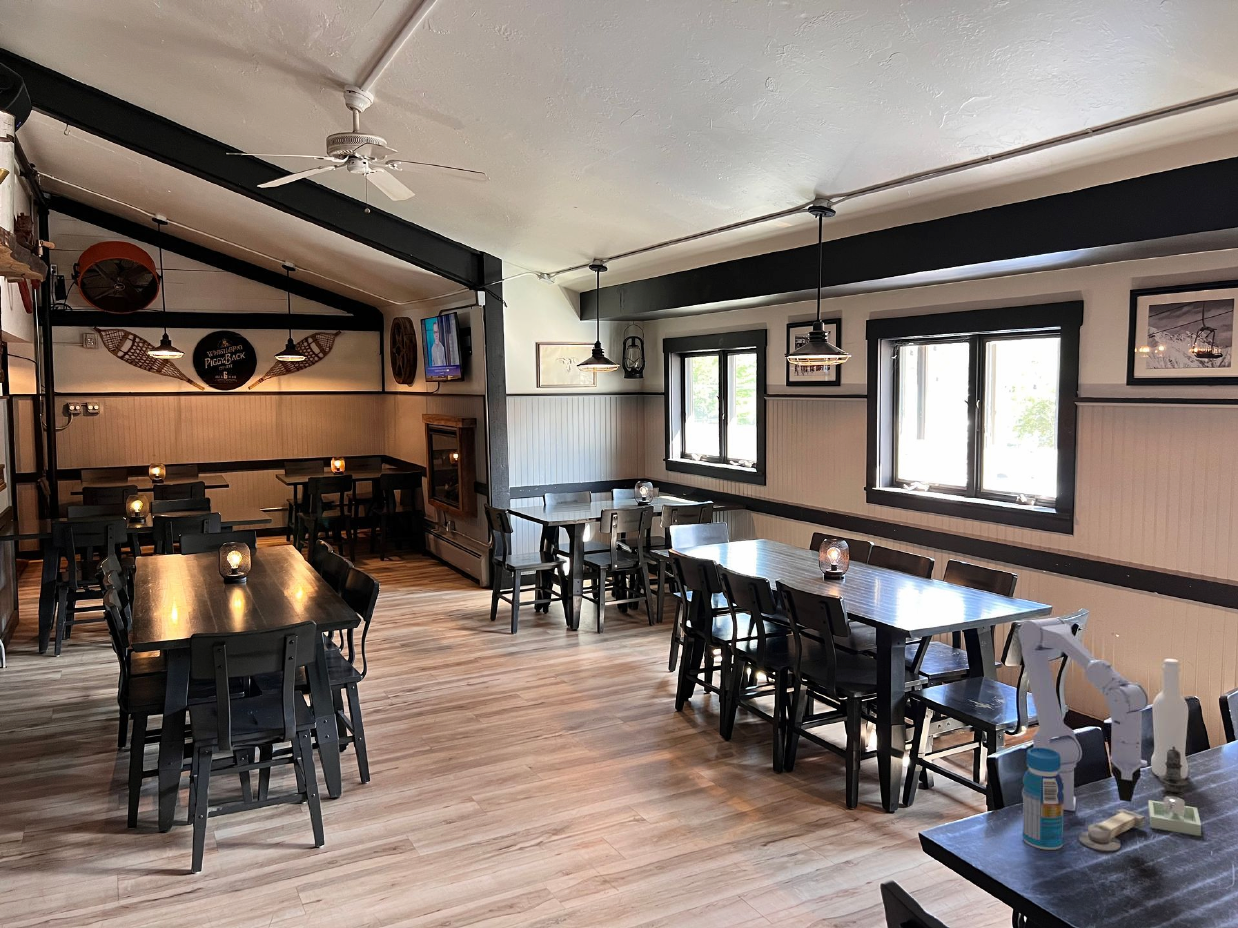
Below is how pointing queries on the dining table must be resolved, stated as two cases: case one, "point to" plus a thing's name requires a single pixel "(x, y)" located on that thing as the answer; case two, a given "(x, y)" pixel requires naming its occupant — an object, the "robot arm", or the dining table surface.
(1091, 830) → the beige flat bar
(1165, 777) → the dark grey tiered tower
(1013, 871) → the dining table surface
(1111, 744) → the robot arm
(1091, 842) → the crank base
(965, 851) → the dining table surface
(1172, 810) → the piston stop
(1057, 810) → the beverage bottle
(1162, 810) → the tray
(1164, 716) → the bottle
